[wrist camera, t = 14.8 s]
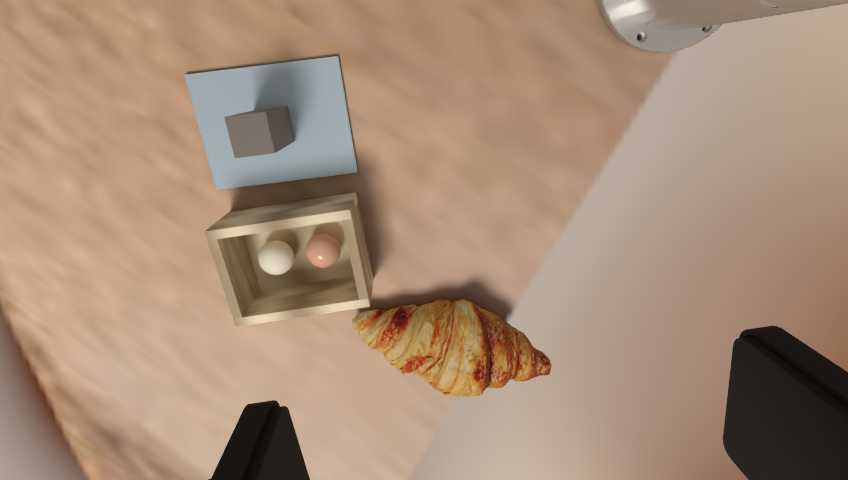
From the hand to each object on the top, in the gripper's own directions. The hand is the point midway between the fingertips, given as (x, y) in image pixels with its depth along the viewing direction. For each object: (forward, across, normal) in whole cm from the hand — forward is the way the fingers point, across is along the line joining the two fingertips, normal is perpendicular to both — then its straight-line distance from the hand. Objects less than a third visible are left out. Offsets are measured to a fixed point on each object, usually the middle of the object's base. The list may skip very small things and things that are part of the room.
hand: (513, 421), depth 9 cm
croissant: (+35, 0, +19) cm, 40 cm away
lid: (+35, +13, -4) cm, 37 cm away
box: (+34, +13, +7) cm, 37 cm away
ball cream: (+34, +15, +7) cm, 38 cm away
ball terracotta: (+34, +11, +7) cm, 36 cm away
